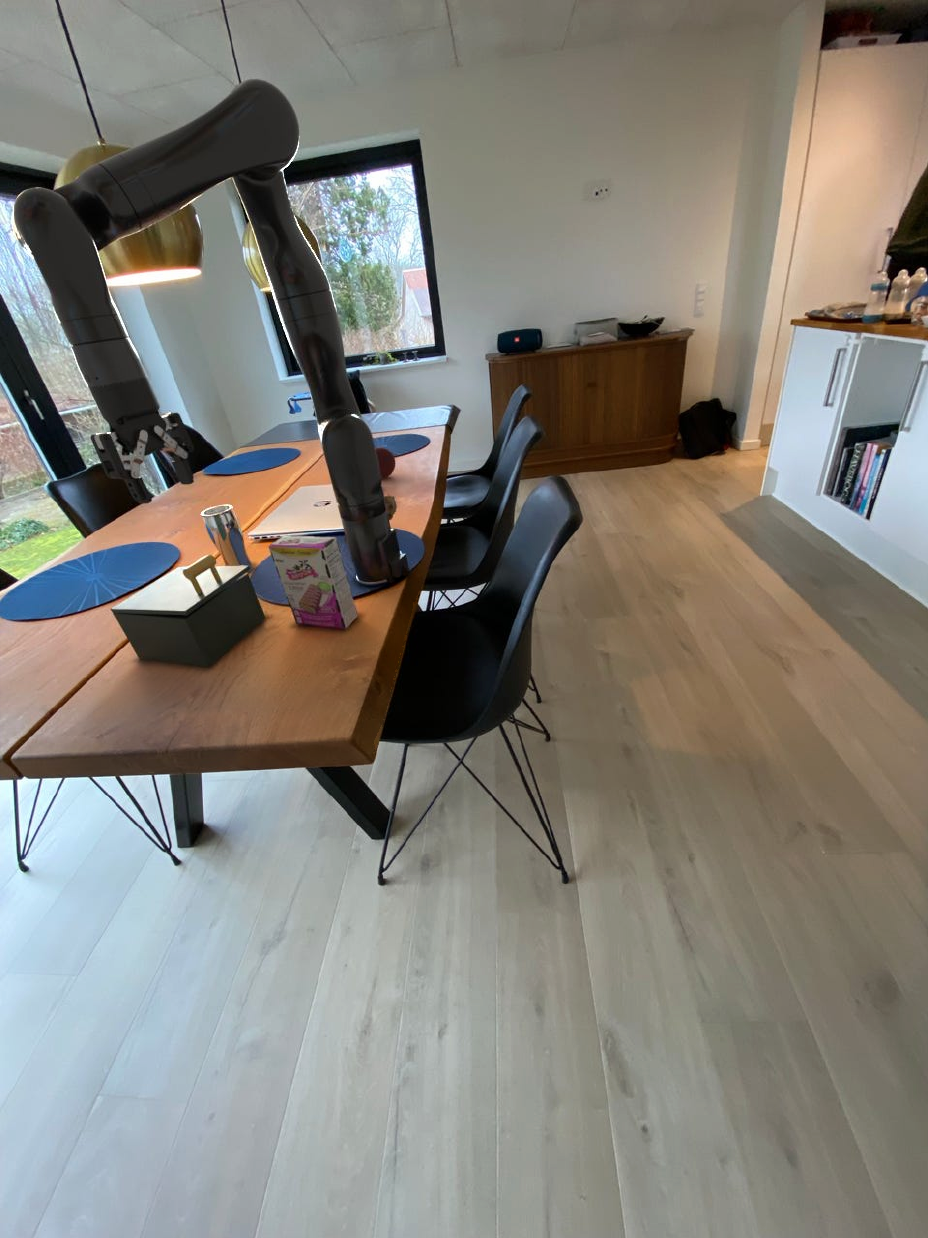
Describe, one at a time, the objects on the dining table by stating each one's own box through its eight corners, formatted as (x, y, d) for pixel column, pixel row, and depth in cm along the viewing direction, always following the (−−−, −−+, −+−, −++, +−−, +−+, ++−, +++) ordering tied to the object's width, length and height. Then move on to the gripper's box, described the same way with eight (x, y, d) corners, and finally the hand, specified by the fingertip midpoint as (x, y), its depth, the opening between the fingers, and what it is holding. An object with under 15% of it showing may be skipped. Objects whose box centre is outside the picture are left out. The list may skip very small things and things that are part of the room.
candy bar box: (295, 626, 96) (265, 546, 87) (309, 612, 99) (283, 534, 91) (346, 631, 92) (321, 547, 83) (359, 616, 96) (337, 535, 87)
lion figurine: (398, 524, 134) (391, 490, 129) (403, 530, 129) (396, 496, 125) (343, 538, 130) (334, 504, 126) (346, 545, 126) (337, 510, 121)
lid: (250, 569, 94) (238, 541, 91) (187, 615, 81) (171, 584, 78) (181, 570, 100) (167, 543, 97) (112, 612, 87) (94, 584, 84)
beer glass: (260, 562, 124) (238, 503, 116) (247, 576, 118) (223, 514, 110) (234, 564, 125) (210, 505, 117) (220, 578, 119) (193, 517, 111)
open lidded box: (266, 618, 100) (248, 573, 94) (209, 668, 87) (185, 619, 82) (201, 613, 105) (181, 570, 100) (139, 659, 93) (112, 613, 87)
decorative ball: (364, 483, 170) (357, 452, 164) (374, 473, 178) (367, 444, 173) (393, 480, 168) (387, 450, 162) (401, 471, 176) (395, 441, 171)
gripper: (90, 385, 64) (149, 509, 72) (176, 368, 75) (218, 477, 83) (49, 390, 66) (111, 510, 75) (138, 372, 77) (183, 478, 86)
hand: (167, 492), depth 79 cm, fingers open, 8 cm apart
